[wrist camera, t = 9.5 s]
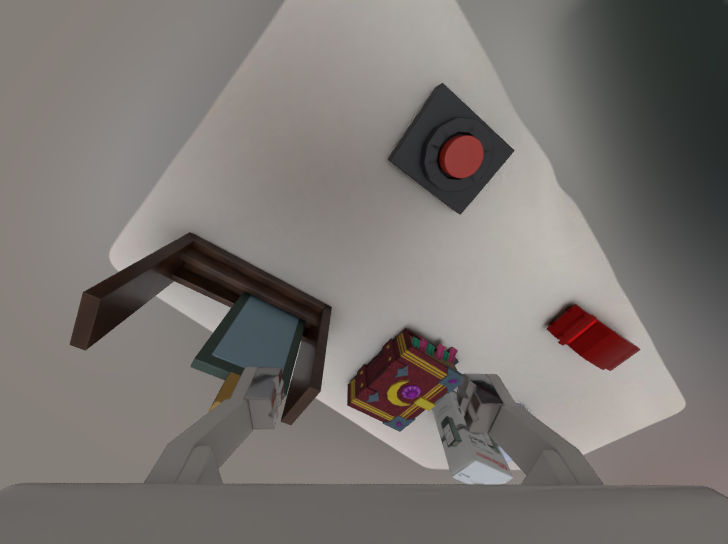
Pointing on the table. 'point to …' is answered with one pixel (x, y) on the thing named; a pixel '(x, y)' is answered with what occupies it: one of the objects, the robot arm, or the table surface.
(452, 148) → the red push button
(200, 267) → the window frame
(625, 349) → the toy car
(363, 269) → the table surface
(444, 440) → the ink box
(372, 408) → the decorative book
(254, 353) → the window pane
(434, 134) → the switch block
